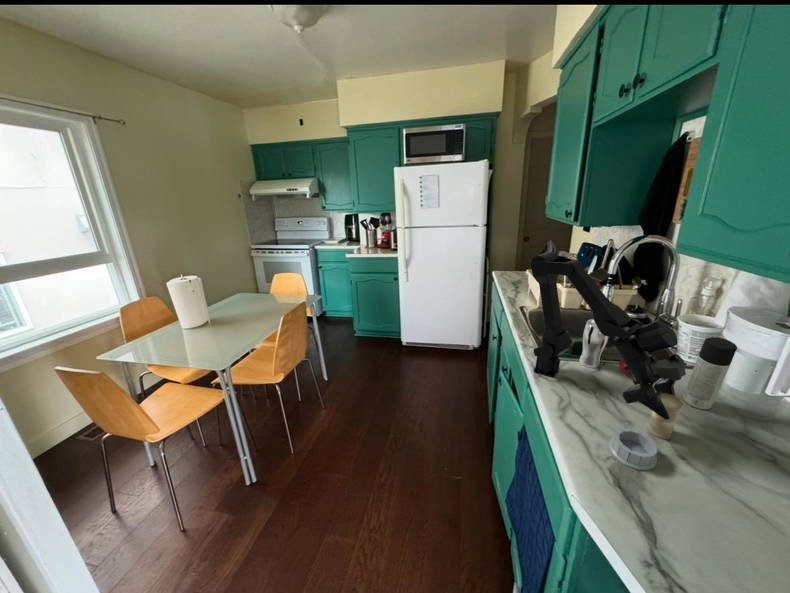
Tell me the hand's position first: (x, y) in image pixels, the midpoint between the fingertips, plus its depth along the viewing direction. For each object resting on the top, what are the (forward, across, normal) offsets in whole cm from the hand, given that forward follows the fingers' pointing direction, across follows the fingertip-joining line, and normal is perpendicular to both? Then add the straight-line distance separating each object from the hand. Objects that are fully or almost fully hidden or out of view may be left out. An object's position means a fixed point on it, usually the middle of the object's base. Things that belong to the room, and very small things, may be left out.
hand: (672, 414), depth 89 cm
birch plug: (+4, 0, +6) cm, 7 cm away
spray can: (+5, +20, +5) cm, 22 cm away
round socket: (+3, -12, +6) cm, 14 cm away
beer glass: (-15, +15, +25) cm, 33 cm away
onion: (-7, +18, +17) cm, 26 cm away
